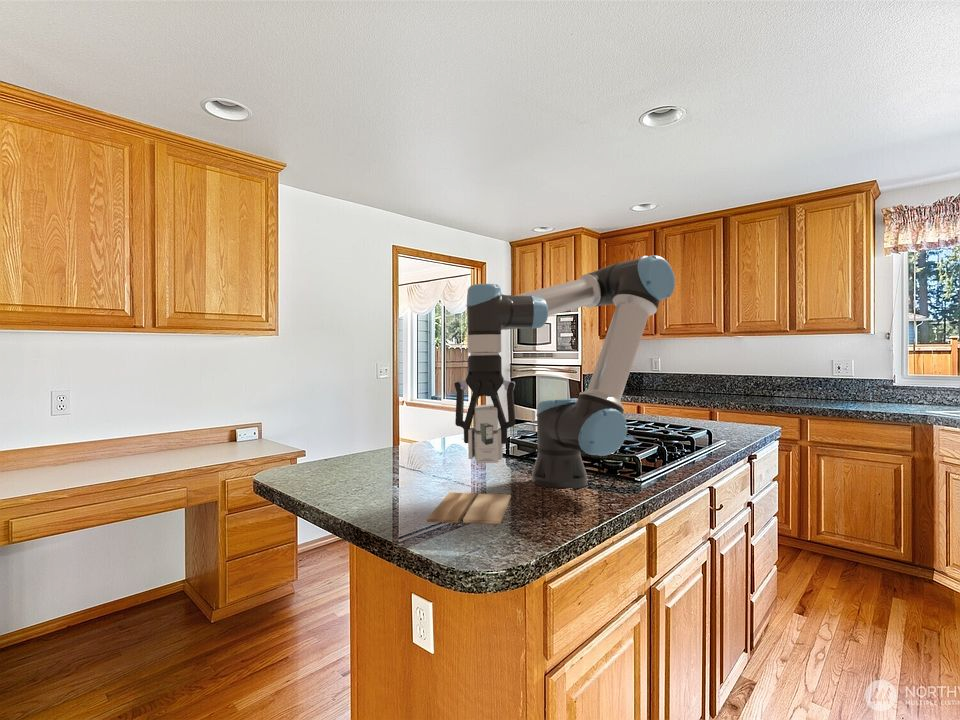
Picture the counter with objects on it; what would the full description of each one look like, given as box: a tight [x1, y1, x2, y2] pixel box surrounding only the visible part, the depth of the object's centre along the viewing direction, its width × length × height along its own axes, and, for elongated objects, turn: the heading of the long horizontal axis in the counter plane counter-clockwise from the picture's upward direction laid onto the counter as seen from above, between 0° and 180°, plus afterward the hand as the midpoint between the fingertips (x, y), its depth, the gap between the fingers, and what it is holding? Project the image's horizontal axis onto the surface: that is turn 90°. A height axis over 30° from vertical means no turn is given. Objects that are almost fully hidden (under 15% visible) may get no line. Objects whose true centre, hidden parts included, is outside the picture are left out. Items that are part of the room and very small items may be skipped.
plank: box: [462, 493, 512, 525], centre depth 114 cm, size 8×19×1 cm, turn 170°
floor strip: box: [426, 492, 478, 524], centre depth 116 cm, size 7×20×1 cm, turn 170°
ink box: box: [473, 404, 499, 464], centre depth 112 cm, size 9×5×12 cm, turn 4°
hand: (485, 457), depth 112 cm, fingers closed on ink box, 6 cm apart
